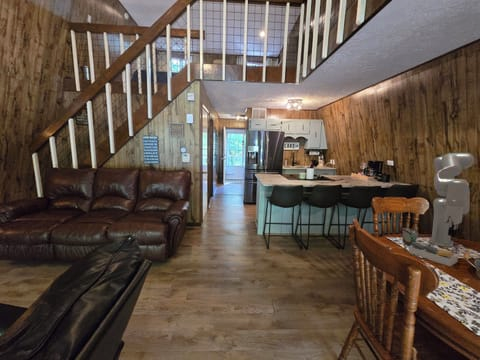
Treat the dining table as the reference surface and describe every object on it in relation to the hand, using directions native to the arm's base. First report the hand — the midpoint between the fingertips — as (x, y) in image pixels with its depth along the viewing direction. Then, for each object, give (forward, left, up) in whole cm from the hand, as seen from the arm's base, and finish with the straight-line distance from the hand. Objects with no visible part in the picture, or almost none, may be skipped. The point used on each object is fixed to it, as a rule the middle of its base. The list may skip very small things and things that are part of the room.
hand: (452, 235), depth 123 cm
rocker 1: (0, -16, -12) cm, 20 cm away
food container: (-13, -24, -17) cm, 32 cm away
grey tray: (-3, -9, -17) cm, 19 cm away
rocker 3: (0, -2, -12) cm, 13 cm away
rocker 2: (0, -9, -12) cm, 15 cm away
